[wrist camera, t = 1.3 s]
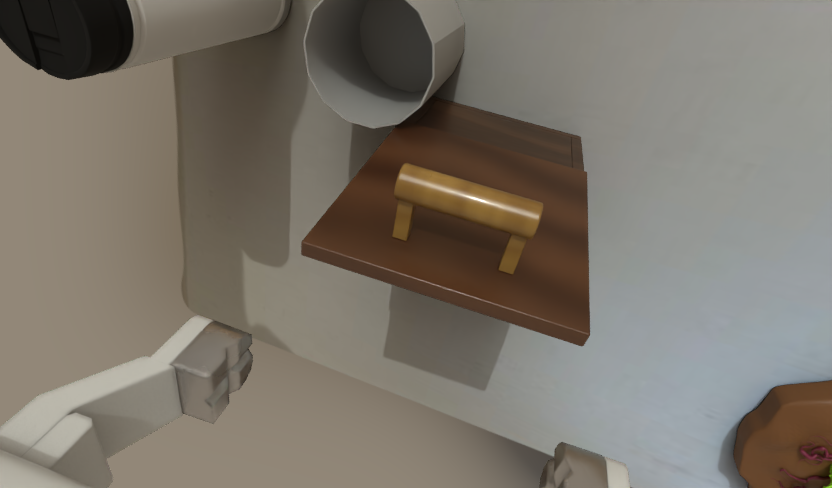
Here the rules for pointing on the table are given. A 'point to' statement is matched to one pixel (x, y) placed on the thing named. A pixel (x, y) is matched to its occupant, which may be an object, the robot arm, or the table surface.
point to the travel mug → (127, 30)
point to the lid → (467, 229)
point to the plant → (788, 438)
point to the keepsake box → (500, 131)
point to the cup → (381, 55)
